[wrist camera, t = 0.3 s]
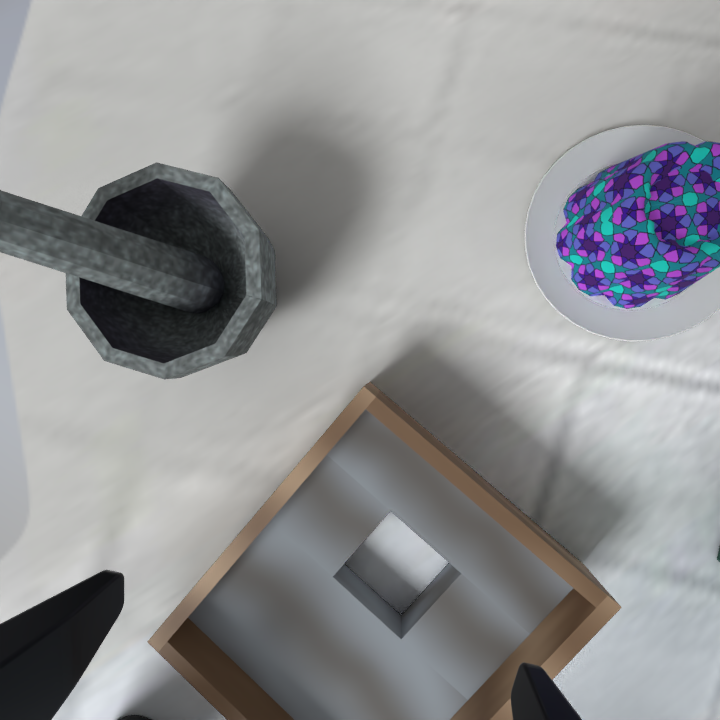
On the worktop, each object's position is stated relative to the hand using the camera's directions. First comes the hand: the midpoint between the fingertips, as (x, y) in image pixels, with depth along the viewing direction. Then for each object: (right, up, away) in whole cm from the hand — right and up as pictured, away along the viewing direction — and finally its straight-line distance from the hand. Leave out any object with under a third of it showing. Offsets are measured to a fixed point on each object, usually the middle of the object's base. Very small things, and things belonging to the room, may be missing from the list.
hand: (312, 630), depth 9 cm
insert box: (+2, -7, +15) cm, 17 cm away
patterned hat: (+16, +13, +14) cm, 25 cm away
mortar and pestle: (-8, +10, +16) cm, 21 cm away
